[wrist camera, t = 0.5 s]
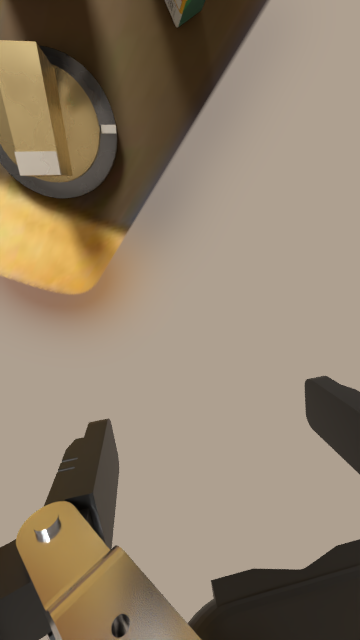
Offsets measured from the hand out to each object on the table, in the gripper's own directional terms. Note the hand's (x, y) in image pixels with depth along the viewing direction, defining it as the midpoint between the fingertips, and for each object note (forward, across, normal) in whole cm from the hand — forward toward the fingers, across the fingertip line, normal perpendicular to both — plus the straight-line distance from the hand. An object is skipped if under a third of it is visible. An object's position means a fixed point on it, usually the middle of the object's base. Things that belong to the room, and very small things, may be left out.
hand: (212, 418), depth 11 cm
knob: (+21, +8, -20) cm, 30 cm away
